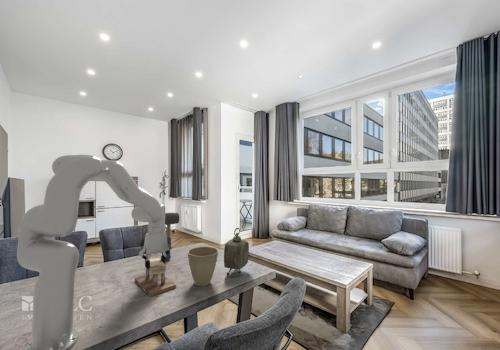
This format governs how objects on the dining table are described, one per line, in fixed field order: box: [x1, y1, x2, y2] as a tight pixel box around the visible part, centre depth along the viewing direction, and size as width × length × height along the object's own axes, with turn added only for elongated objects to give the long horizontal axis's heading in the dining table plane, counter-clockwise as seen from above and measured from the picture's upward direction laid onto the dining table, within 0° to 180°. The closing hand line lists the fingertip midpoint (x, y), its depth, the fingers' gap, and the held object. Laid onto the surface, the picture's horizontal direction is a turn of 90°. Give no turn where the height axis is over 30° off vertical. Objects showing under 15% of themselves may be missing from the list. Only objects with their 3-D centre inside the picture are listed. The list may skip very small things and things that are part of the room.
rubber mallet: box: [165, 212, 180, 262], centre depth 145 cm, size 12×8×30 cm, turn 119°
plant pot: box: [187, 246, 219, 287], centre depth 114 cm, size 15×15×16 cm
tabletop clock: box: [223, 227, 250, 276], centre depth 127 cm, size 14×9×25 cm, turn 159°
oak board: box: [149, 256, 166, 275], centre depth 111 cm, size 14×6×3 cm, turn 35°
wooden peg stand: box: [134, 268, 177, 297], centre depth 111 cm, size 20×12×6 cm, turn 44°
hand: (155, 266), depth 111 cm, fingers closed on oak board, 6 cm apart
